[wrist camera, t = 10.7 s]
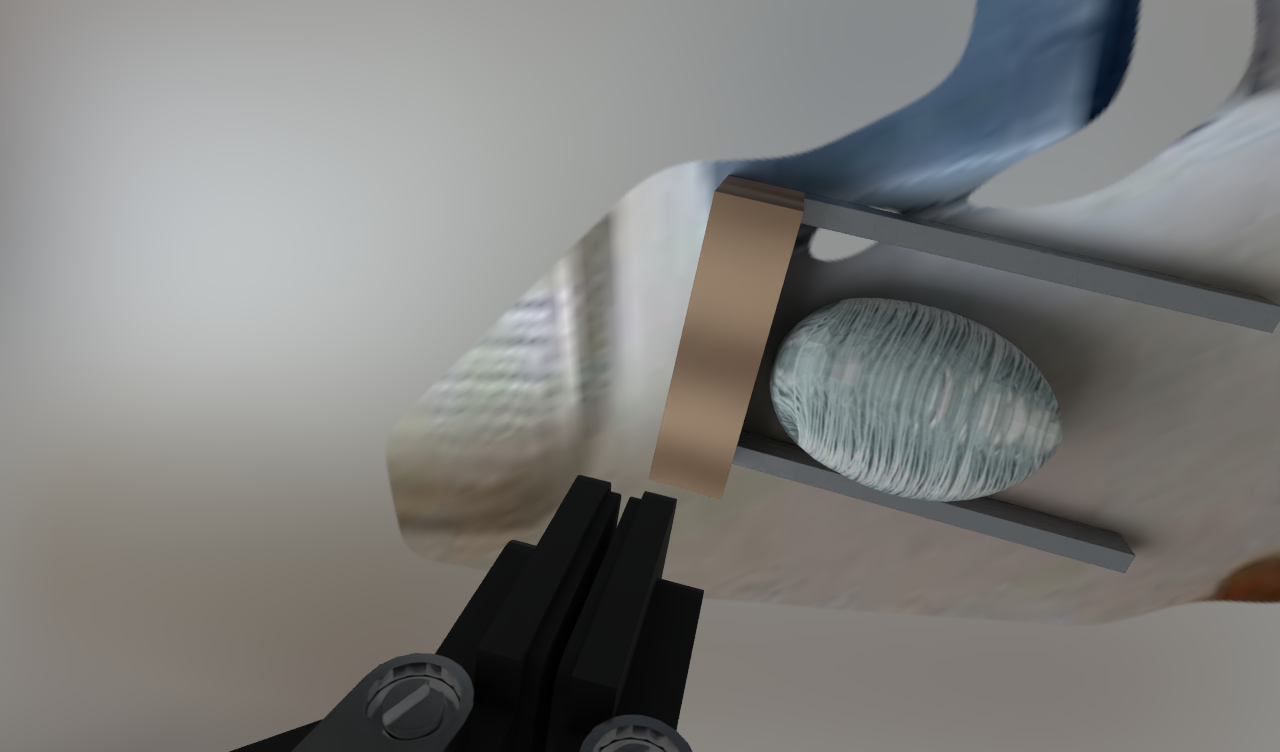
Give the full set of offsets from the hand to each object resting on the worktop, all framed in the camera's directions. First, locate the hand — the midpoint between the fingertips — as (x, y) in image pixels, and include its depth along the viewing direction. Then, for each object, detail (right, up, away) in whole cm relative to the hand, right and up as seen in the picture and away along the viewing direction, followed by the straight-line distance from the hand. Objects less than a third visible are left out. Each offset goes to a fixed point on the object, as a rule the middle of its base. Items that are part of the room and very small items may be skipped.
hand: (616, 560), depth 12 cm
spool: (+15, +4, +27) cm, 31 cm away
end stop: (+5, +6, +28) cm, 29 cm away
